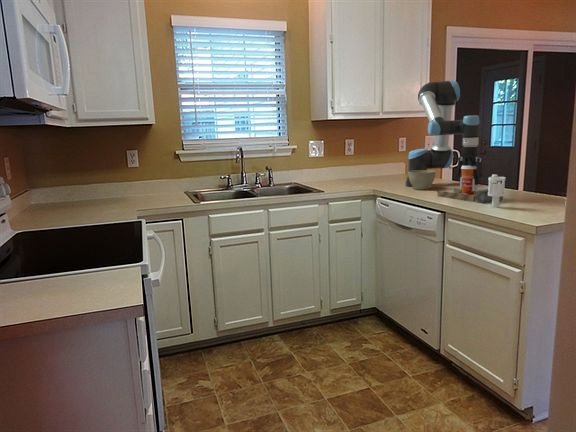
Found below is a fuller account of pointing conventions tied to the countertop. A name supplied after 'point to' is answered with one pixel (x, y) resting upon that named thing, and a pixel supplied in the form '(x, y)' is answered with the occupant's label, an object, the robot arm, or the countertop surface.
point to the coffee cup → (467, 179)
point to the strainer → (496, 189)
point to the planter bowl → (421, 178)
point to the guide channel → (469, 196)
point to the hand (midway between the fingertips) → (468, 190)
